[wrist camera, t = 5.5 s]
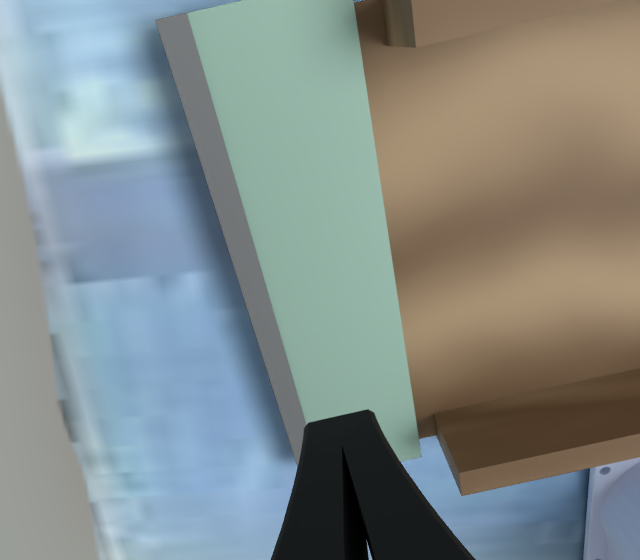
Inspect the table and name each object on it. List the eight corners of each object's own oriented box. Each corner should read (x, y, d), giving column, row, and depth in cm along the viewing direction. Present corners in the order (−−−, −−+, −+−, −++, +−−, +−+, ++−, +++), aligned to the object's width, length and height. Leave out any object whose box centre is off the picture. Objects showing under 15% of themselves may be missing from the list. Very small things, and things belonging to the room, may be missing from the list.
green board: (422, 458, 20) (303, 485, 20) (414, 437, 21) (301, 463, 21) (350, -26, 12) (155, 20, 12) (343, -20, 13) (164, 21, 13)
